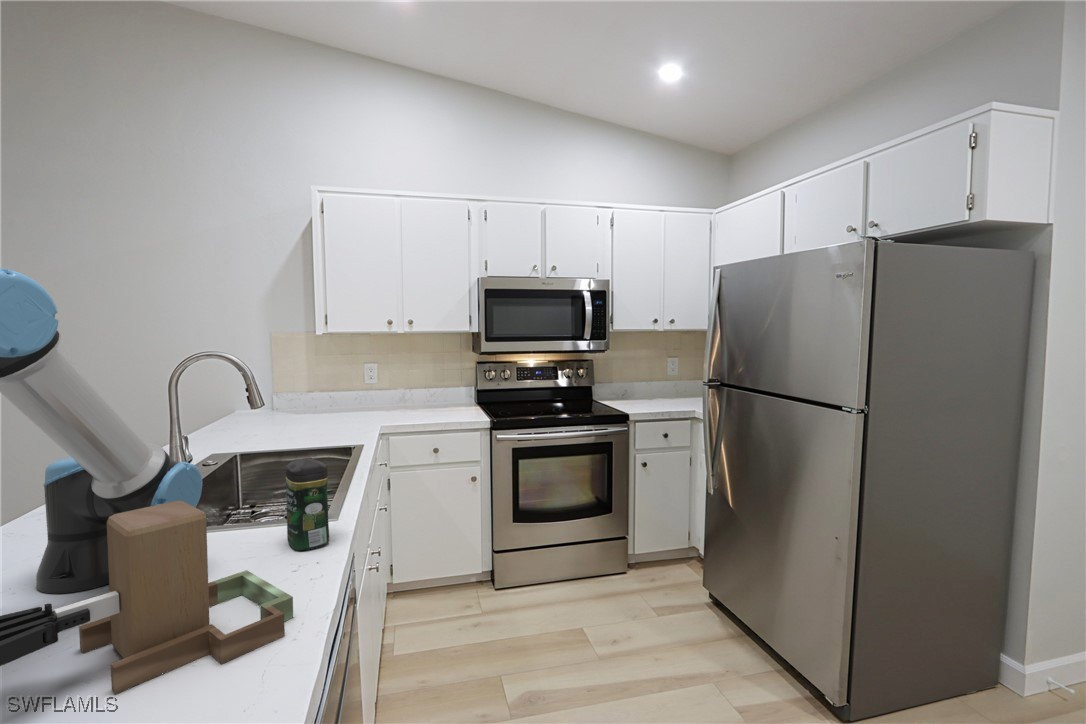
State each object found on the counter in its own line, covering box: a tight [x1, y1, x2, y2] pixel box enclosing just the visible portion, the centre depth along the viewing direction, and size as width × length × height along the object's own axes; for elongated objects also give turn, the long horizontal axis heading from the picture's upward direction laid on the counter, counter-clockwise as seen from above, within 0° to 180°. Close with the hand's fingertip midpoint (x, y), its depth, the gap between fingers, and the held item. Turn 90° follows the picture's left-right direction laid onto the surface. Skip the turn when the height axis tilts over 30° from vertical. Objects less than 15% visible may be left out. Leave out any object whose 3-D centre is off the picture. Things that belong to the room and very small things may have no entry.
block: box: [107, 501, 211, 659], centre depth 80 cm, size 10×10×20 cm
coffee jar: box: [285, 457, 330, 551], centre depth 118 cm, size 10×8×19 cm
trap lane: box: [78, 569, 294, 695], centre depth 83 cm, size 24×24×4 cm
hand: (117, 601), depth 75 cm, fingers closed
